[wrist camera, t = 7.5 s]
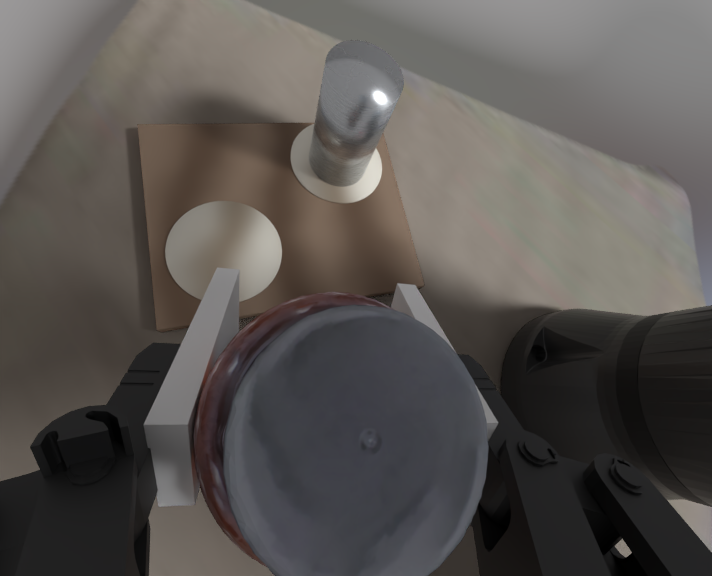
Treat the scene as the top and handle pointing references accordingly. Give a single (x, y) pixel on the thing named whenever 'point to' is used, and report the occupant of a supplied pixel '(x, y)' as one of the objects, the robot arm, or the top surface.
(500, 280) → the top surface
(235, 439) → the supplement bottle
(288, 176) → the board
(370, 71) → the pin
